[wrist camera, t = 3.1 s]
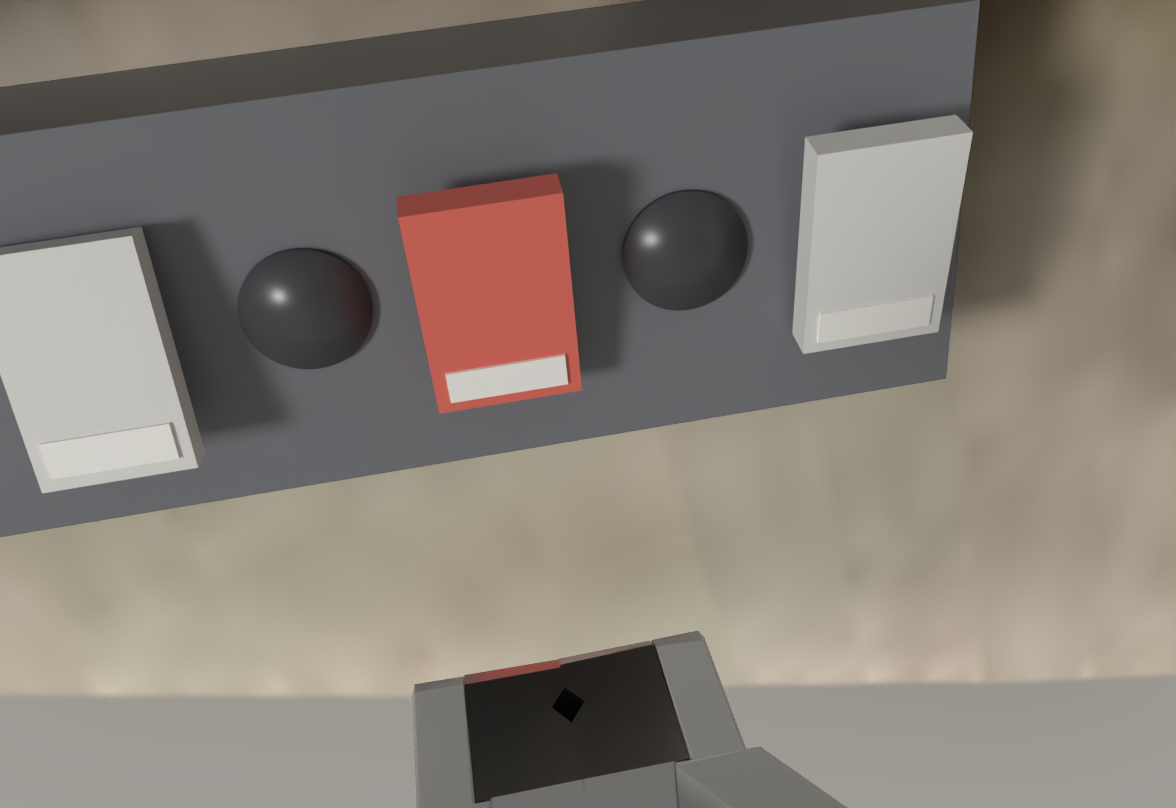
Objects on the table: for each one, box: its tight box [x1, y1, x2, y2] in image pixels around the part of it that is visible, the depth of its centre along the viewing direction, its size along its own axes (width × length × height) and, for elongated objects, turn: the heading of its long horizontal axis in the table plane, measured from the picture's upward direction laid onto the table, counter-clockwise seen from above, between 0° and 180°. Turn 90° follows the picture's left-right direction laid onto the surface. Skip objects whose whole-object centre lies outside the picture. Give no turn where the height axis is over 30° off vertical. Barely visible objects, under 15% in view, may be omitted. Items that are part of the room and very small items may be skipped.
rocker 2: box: [792, 115, 973, 354], centre depth 24 cm, size 3×5×1 cm, turn 6°
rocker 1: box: [0, 227, 205, 493], centre depth 22 cm, size 3×5×1 cm, turn 6°
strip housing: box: [0, 0, 980, 537], centre depth 25 cm, size 25×9×4 cm, turn 96°
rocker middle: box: [396, 173, 582, 414], centre depth 23 cm, size 3×5×1 cm, turn 6°
